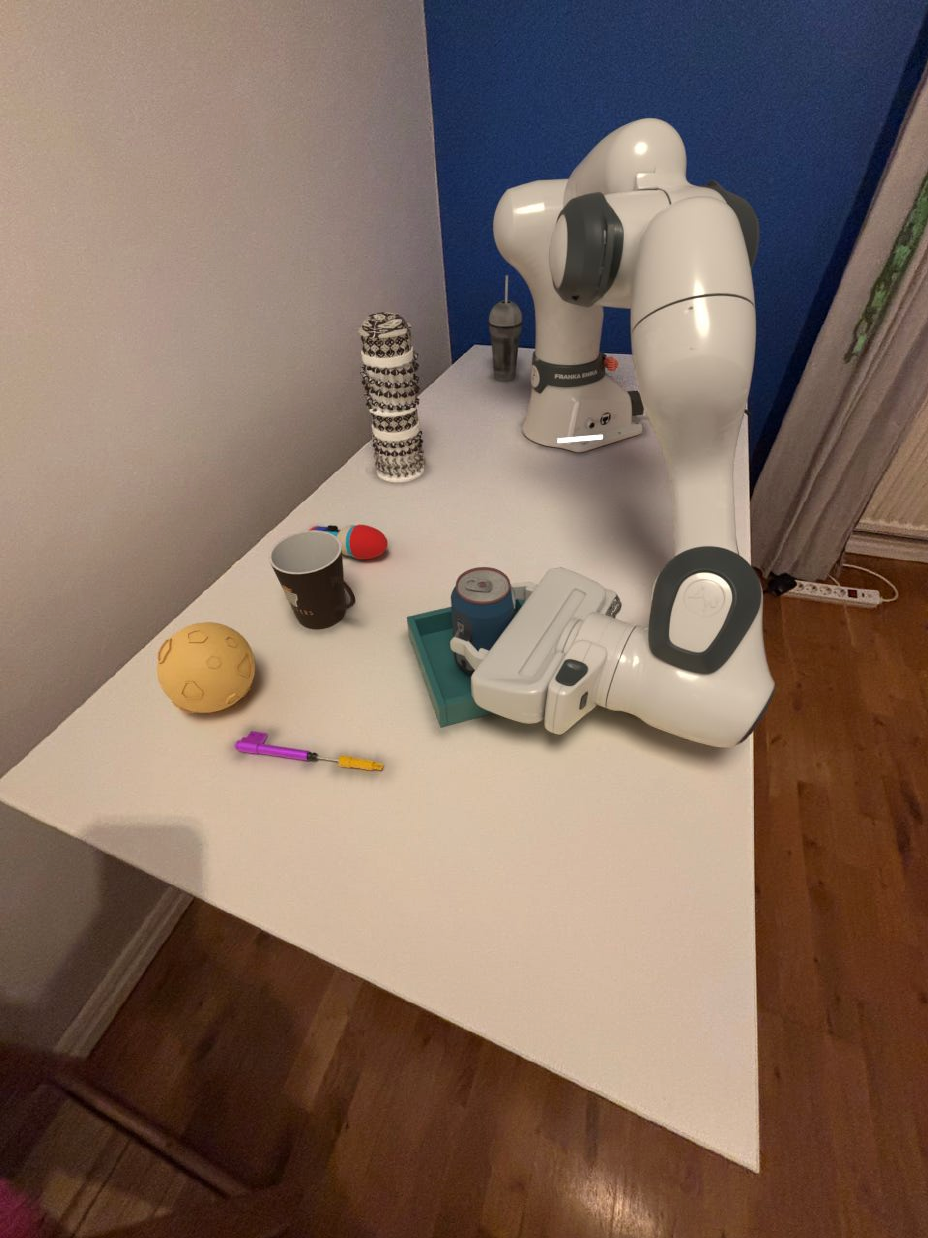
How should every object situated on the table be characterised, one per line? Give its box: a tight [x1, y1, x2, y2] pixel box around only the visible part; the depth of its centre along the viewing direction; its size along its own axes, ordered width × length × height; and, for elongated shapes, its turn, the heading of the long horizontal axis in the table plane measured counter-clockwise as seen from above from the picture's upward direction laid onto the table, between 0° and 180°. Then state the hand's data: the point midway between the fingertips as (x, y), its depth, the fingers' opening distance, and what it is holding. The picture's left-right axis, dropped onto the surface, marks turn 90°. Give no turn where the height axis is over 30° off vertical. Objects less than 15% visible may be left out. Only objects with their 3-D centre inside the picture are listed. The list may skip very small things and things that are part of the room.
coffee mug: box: [268, 529, 356, 630], centre depth 74 cm, size 12×9×10 cm
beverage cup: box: [487, 274, 524, 382], centre depth 126 cm, size 7×7×20 cm
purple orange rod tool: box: [234, 730, 384, 771], centre depth 62 cm, size 3×1×16 cm
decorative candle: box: [356, 311, 426, 483], centre depth 96 cm, size 9×9×25 cm
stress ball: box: [156, 621, 256, 715], centre depth 65 cm, size 10×10×10 cm
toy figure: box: [309, 524, 388, 560], centre depth 87 cm, size 8×5×15 cm
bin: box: [406, 599, 525, 728], centre depth 70 cm, size 15×15×4 cm
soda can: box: [450, 566, 516, 676], centre depth 66 cm, size 7×7×12 cm
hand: (475, 613), depth 66 cm, fingers open, 8 cm apart
